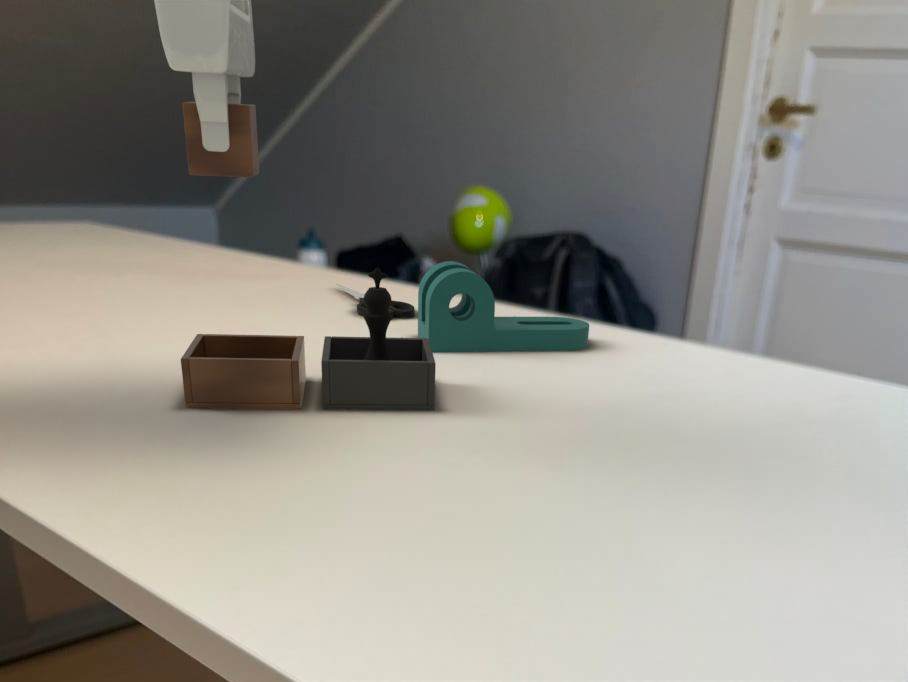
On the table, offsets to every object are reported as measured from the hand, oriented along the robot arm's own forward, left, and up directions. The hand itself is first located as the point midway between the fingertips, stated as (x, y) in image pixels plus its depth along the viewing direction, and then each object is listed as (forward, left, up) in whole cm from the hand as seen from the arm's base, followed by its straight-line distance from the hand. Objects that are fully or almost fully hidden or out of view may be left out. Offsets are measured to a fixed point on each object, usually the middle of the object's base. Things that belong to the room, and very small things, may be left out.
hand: (222, 149), depth 70 cm
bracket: (+25, +26, -19) cm, 41 cm away
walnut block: (0, 0, -2) cm, 2 cm away
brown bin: (0, +5, -19) cm, 20 cm away
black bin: (+11, +5, -19) cm, 23 cm away
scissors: (+10, +47, -19) cm, 51 cm away
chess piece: (+11, +5, -19) cm, 22 cm away
